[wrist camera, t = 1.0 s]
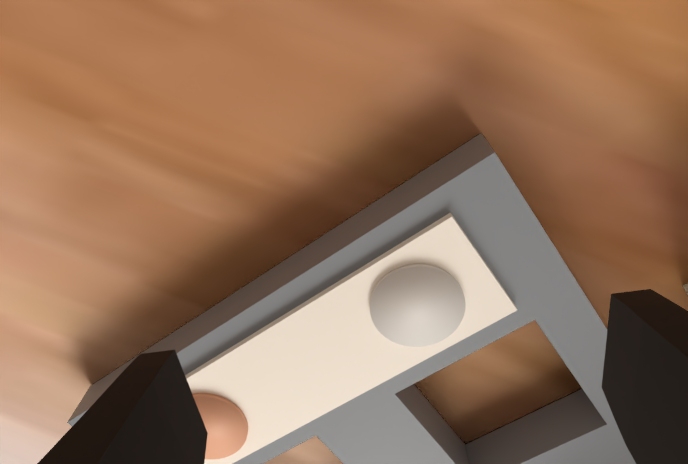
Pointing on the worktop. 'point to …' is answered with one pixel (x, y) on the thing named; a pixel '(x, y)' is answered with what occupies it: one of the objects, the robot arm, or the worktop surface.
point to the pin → (686, 288)
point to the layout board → (397, 333)
